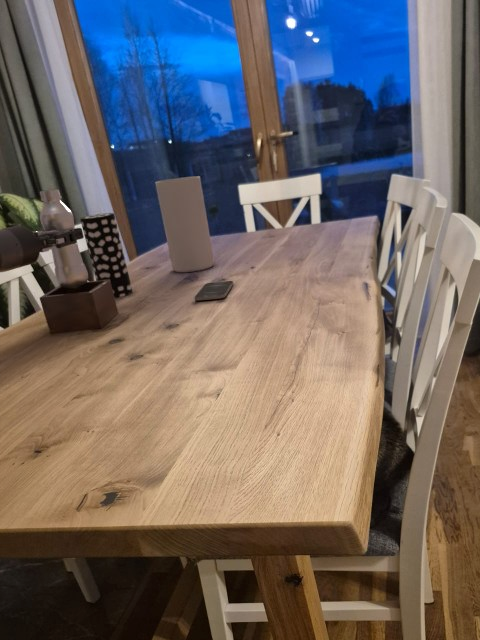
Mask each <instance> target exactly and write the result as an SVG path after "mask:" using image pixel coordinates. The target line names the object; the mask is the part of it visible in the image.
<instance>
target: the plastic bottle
mask: <svg viewBox="0 0 480 640" xmlns="http://www.w3.org/2000/svg"><path fill="white" fill-rule="evenodd" d="M39 194H40V201H41V202H43V206H42V208H41V211H40V214H39V220H40V224H41V225H42V229H43V232H46V231H51V230H58V231H59V232H60V231H65V230H71V229H75V228H76V226H75V217H74V214H73V212H72V210H71V209H70V208H69V207H68V206H67V205H66V204H65V203H64V202H62V200H61V199H62V195H61V193H60V190H59V188H57V189H48V190H41V191H39ZM53 235H54V234H51V236H52V237H53ZM53 239H54V237H53ZM53 245H56V244H53ZM53 245H52V246H53ZM50 251H51V254H52V260H53V265H54V274H55V280H56V283H57V284H58V286H61V287H63V288H76V287H79V286H81V285H83V284H85V283H87V282H89V281H88V280H89V272H88V269H87V266H86V264H85V262H84V261H83V258H82V253H81V251H80V248H79V245H78V242H77V243H75V244H71V245H68V246H65V247H61V248H55V249H50Z"/></svg>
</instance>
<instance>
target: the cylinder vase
mask: <svg viewBox="0 0 480 640" xmlns="http://www.w3.org/2000/svg"><path fill="white" fill-rule="evenodd" d="M154 183H155V188H156V189H155V190H156V193H157V198H158V204H159V208H160V213H161V219H162V222H163V228H164V232H165V236H166V243H167V249H168V253H169V256H170V257H169V258H170V263H171V268H172V270H173V271H174V272H176V273H192V272H200V271H204V270H207V269H210V268H212V267H213V266H214V265H215V258H214V251H213V246H212V239H211V235H210V229H209V221H208V218H207V210H206V205H205V204H206V203H205V197H204V192H203V187H202V181H201V176H199V175H198V176H196V175H195V176H186V177H177V178H169V179H164V180H159V181H155V182H154Z"/></svg>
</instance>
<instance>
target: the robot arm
mask: <svg viewBox="0 0 480 640" xmlns="http://www.w3.org/2000/svg"><path fill="white" fill-rule="evenodd" d="M51 234H54V235H53V237H54V239H53V237H52V236H51ZM83 239H85V236H84V232H83V228H82V227H75V229H71V230H65V231H60V232H59V231H58V230H51V231H46V232H45V231H44V230H34V231H31V230H30V229H29V228H27V227H26V226H24V225H14V226H13V225H12V226H9V227H5V228H0V273H5V272H9V271H12V270H16V269H20V268H23V267H26V266H30V265H33V264H34V263H36V262H37V261H38V259H39V257H40V253H46V252H49V251H51V249H55V248H61V247H65V246H68V245H71V244H75V243H77V244H78V240H83ZM53 244H56V245H53ZM52 245H53V246H52Z"/></svg>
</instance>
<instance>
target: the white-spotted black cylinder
mask: <svg viewBox="0 0 480 640" xmlns="http://www.w3.org/2000/svg"><path fill="white" fill-rule="evenodd" d="M79 220H80V224H81V229H82V232H83V235H84V240H85V243H86V247H87V250H88V255H89V258H90V262H91V267H92V270H93V274H94V277H95V281H98V280H108V279H110V282H111V286H112V290H113V294H114V298H115V299H117V298H122V297H126V296H129V295H130V294H132V293H133V287H132V282H131V279H130V274H129V270H128V266H127V262H126V258H125V253H124V249H123V245H122V240H121V237H120V233H119V228H118V224H117V219H116V215H115V213H114V212H107V213H98V214H92V215H85V216H82V217H80V218H79Z"/></svg>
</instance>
